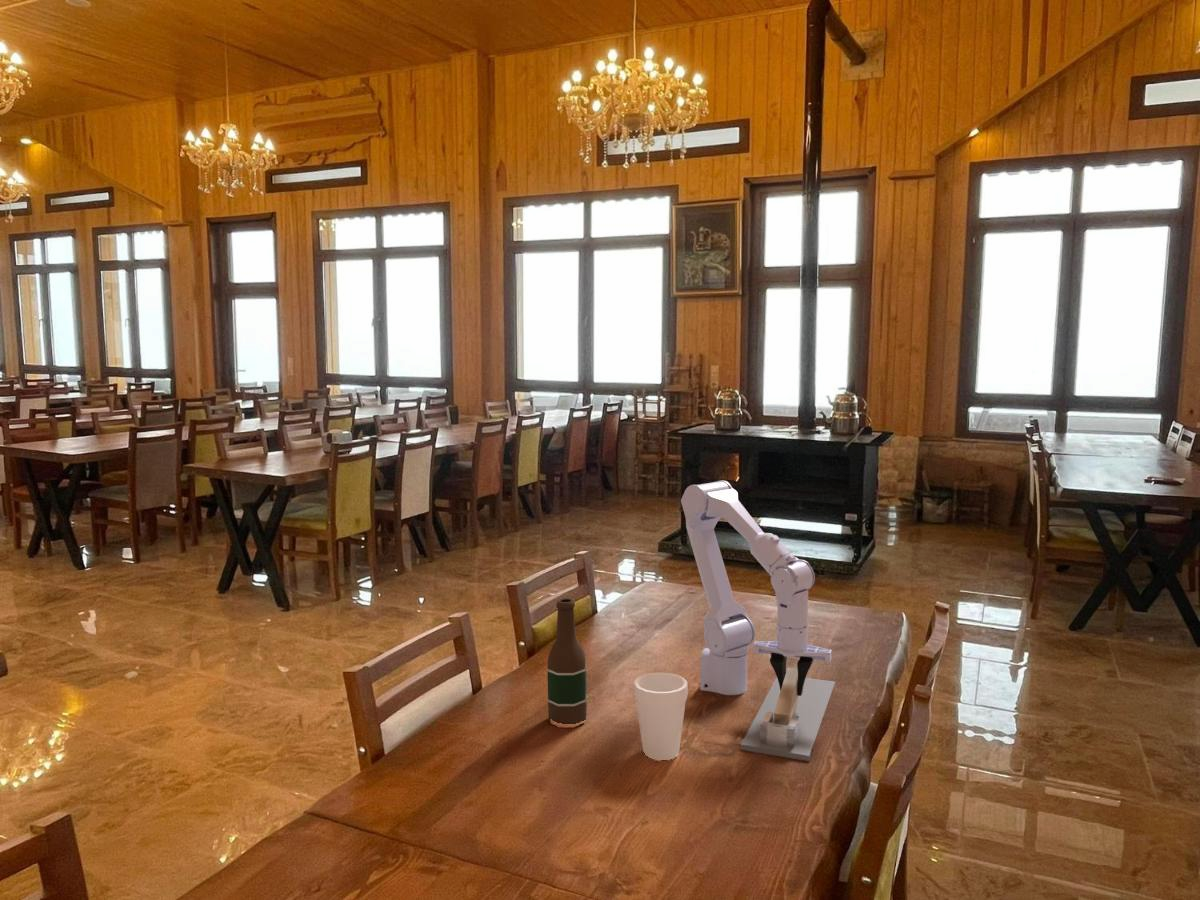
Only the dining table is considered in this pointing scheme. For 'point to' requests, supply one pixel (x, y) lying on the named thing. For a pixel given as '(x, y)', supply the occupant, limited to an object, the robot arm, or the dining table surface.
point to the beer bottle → (566, 670)
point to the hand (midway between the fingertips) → (791, 692)
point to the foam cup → (660, 713)
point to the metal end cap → (779, 731)
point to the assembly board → (807, 709)
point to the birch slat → (787, 698)
